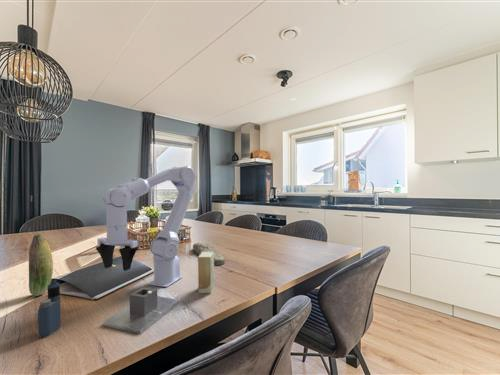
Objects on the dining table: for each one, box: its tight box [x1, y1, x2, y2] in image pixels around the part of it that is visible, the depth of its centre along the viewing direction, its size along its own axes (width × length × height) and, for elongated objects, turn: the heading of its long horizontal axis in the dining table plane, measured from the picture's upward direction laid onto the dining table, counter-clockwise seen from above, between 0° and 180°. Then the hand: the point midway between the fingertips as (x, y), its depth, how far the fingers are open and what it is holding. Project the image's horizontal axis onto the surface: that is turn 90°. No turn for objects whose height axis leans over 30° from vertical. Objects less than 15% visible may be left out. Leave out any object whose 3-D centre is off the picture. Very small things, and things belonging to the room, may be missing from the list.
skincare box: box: [197, 252, 215, 294], centre depth 83 cm, size 6×4×12 cm
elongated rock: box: [192, 242, 226, 266], centre depth 123 cm, size 35×5×10 cm
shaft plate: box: [102, 295, 181, 335], centre depth 68 cm, size 16×12×4 cm
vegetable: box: [28, 234, 54, 297], centre depth 80 cm, size 6×6×20 cm
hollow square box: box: [129, 286, 158, 316], centre depth 67 cm, size 5×5×5 cm
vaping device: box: [37, 279, 62, 338], centre depth 59 cm, size 3×5×12 cm, turn 2°
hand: (117, 268), depth 77 cm, fingers open, 7 cm apart
